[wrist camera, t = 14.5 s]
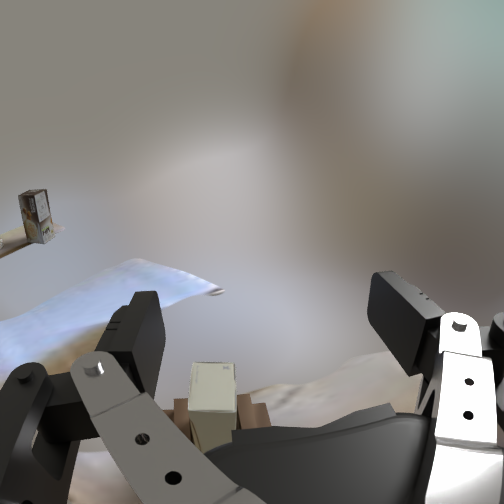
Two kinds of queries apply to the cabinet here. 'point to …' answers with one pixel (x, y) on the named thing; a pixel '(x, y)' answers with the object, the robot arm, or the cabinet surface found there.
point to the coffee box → (36, 216)
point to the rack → (245, 416)
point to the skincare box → (212, 403)
